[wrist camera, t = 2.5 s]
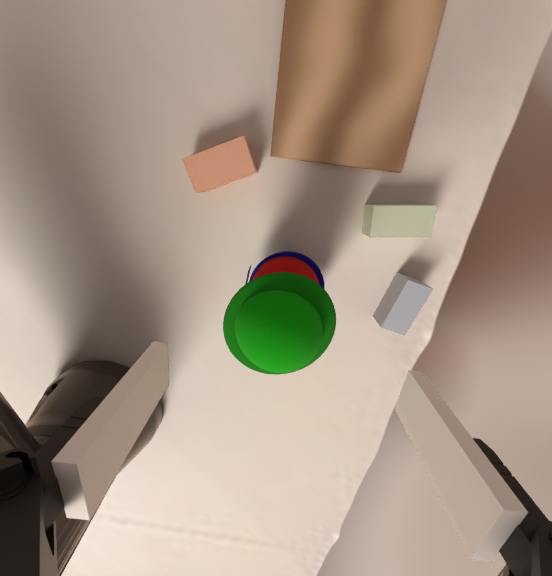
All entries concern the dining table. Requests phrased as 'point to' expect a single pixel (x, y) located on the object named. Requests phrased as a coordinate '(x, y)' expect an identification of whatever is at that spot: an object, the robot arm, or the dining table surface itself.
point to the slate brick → (401, 303)
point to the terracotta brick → (220, 164)
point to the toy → (280, 316)
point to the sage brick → (398, 220)
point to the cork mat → (352, 79)
